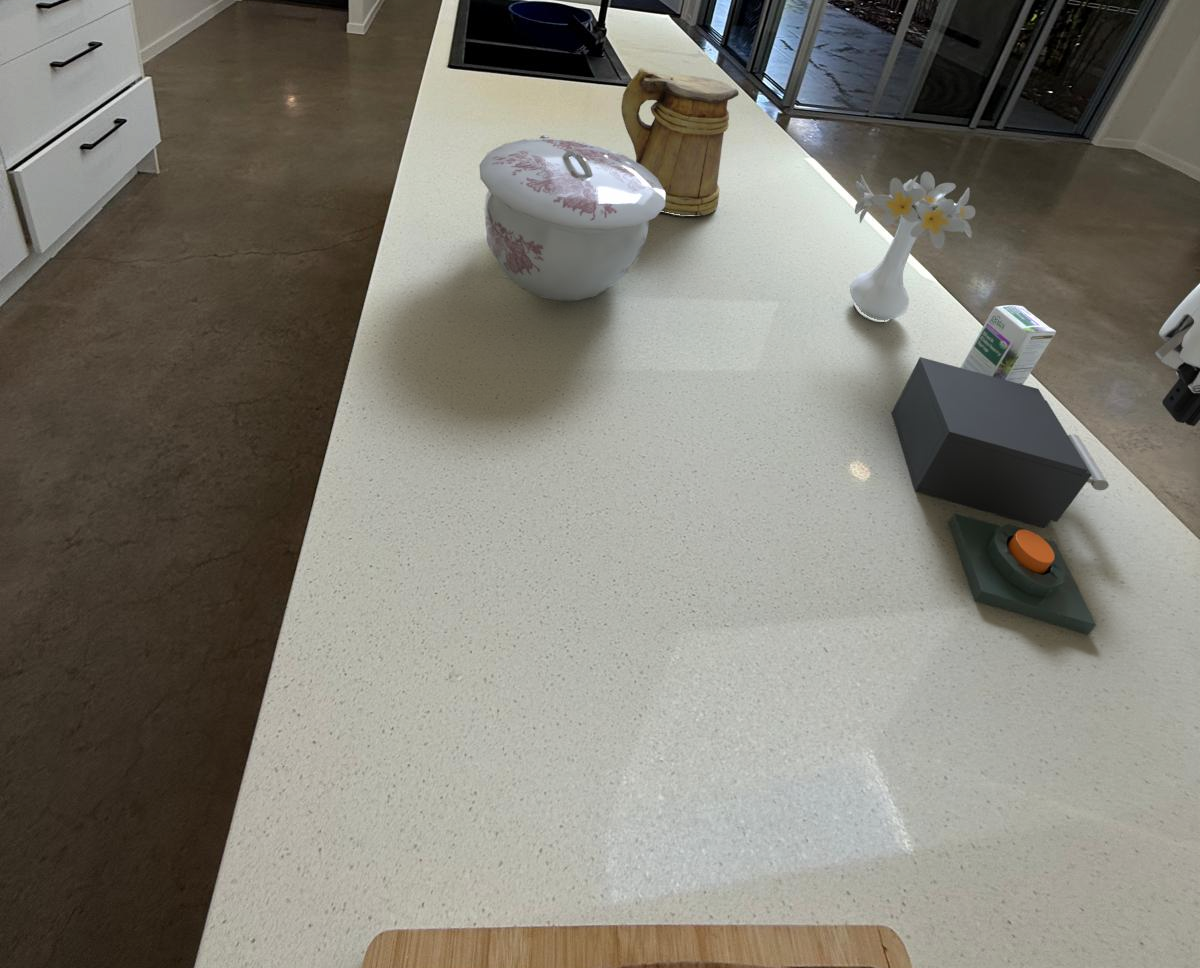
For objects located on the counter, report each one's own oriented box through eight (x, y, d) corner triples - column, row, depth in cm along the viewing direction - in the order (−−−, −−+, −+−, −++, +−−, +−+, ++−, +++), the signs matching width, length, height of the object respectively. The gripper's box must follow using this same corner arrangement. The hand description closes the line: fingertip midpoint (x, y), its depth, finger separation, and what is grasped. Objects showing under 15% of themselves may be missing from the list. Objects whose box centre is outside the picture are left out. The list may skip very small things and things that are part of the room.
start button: (1037, 545, 69) (1045, 535, 68) (1052, 578, 66) (1061, 567, 65) (1002, 535, 69) (1010, 524, 68) (1016, 567, 66) (1024, 556, 65)
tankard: (724, 225, 127) (761, 105, 116) (605, 206, 125) (632, 82, 114) (708, 183, 143) (740, 75, 132) (603, 166, 141) (626, 54, 130)
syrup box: (948, 384, 96) (992, 305, 89) (977, 381, 98) (1023, 303, 92) (978, 414, 91) (1027, 333, 85) (1009, 410, 93) (1059, 330, 87)
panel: (1048, 551, 72) (1063, 531, 71) (1088, 635, 64) (1106, 614, 63) (947, 522, 73) (960, 501, 72) (974, 601, 65) (989, 579, 64)
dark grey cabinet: (1003, 443, 87) (1038, 388, 82) (1044, 529, 75) (1088, 470, 71) (890, 412, 88) (919, 356, 84) (914, 492, 76) (949, 431, 72)
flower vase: (804, 281, 114) (855, 152, 103) (904, 297, 116) (964, 171, 105) (828, 329, 102) (888, 189, 92) (939, 346, 104) (1010, 210, 93)
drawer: (1051, 454, 85) (1081, 409, 82) (1095, 533, 75) (1133, 486, 71) (912, 415, 87) (937, 370, 83) (937, 488, 76) (966, 439, 73)
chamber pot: (611, 355, 87) (645, 223, 78) (431, 286, 93) (444, 155, 84) (661, 257, 112) (691, 148, 103) (516, 207, 118) (532, 100, 109)
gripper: (1336, 278, 66) (1226, 410, 74) (1181, 238, 68) (1089, 372, 76) (1403, 322, 60) (1274, 462, 67) (1228, 277, 61) (1123, 419, 69)
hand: (1177, 414), depth 72 cm, fingers closed
